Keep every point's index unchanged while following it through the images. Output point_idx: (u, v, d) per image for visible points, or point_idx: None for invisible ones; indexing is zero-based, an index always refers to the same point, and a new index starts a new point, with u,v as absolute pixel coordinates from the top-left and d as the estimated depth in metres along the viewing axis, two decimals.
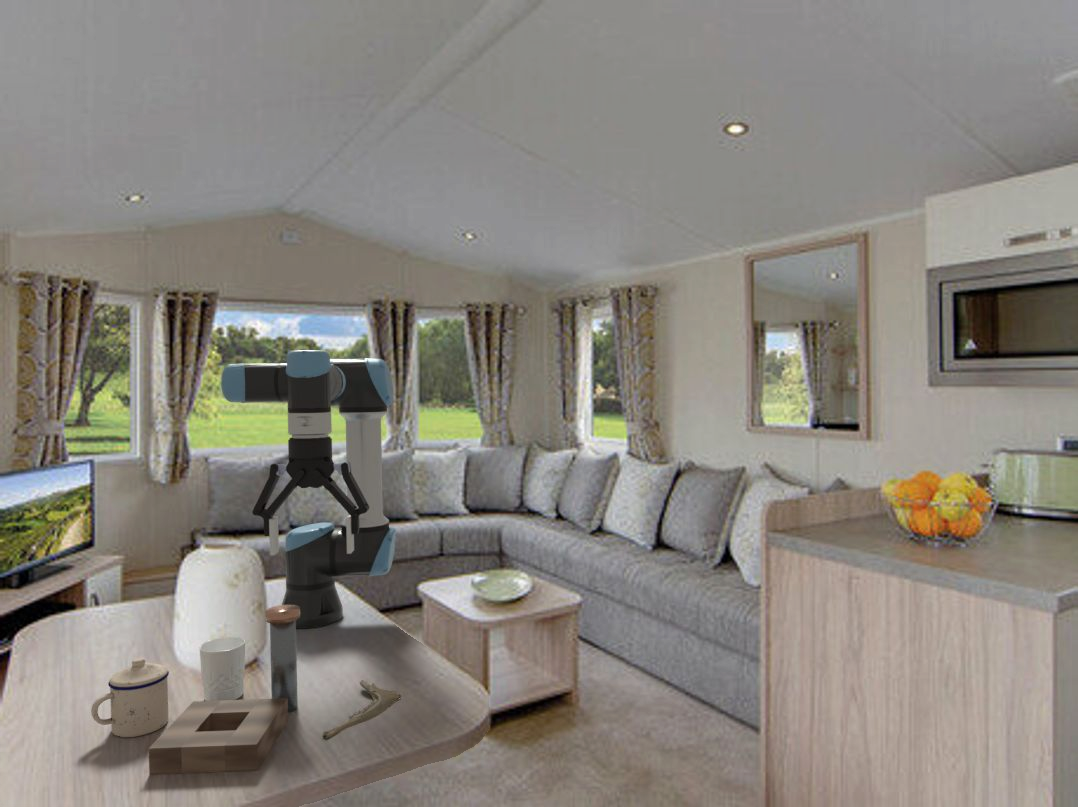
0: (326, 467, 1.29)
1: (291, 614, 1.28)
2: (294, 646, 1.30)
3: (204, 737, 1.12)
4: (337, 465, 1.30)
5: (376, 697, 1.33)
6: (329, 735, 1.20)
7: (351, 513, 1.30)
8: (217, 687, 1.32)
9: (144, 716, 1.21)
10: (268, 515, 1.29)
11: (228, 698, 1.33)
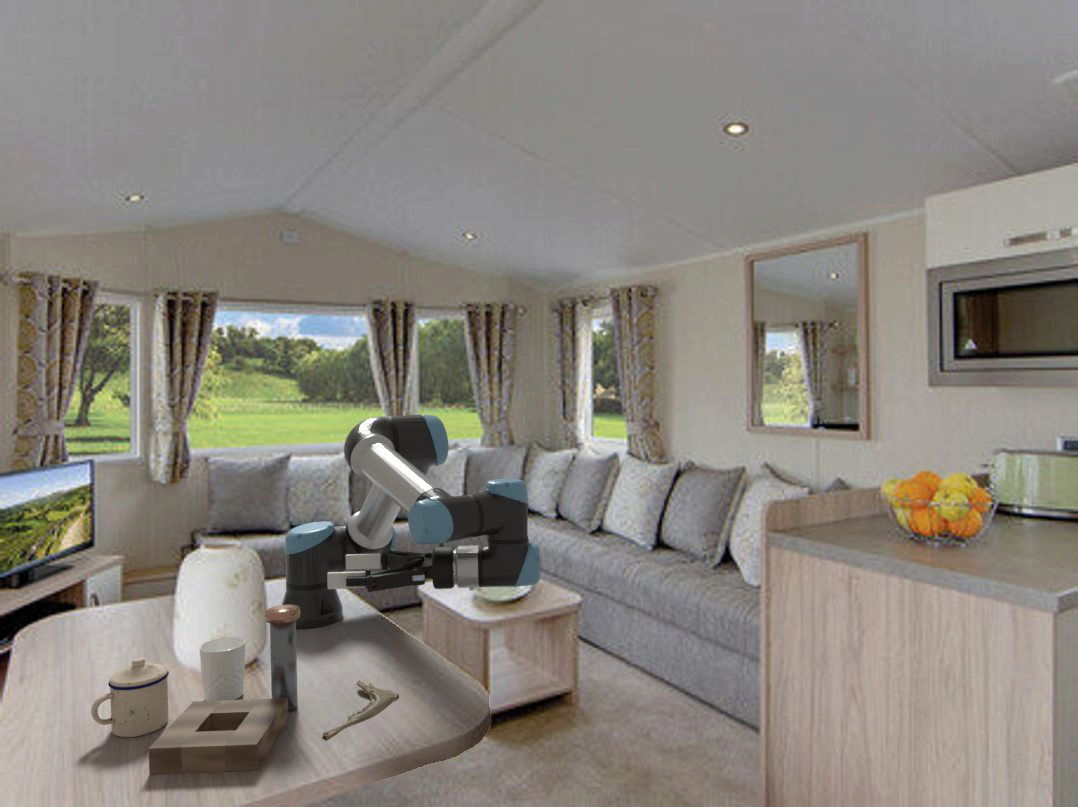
0: None
1: (291, 614, 1.28)
2: (294, 646, 1.30)
3: (204, 737, 1.12)
4: None
5: (374, 697, 1.34)
6: (329, 735, 1.20)
7: (385, 566, 1.38)
8: (217, 687, 1.32)
9: (144, 716, 1.21)
10: None
11: (228, 698, 1.33)
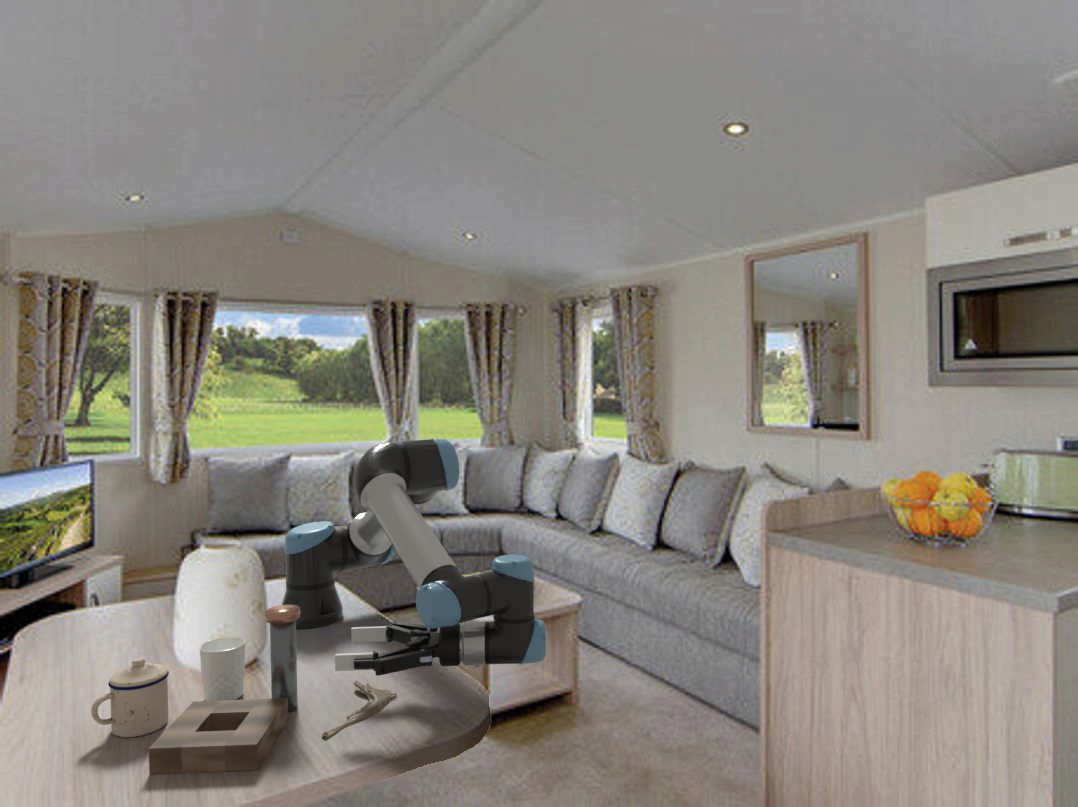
0: None
1: (291, 614, 1.28)
2: (294, 646, 1.30)
3: (204, 737, 1.12)
4: None
5: (372, 697, 1.34)
6: (329, 735, 1.20)
7: None
8: (217, 687, 1.32)
9: (144, 716, 1.21)
10: None
11: (228, 698, 1.33)
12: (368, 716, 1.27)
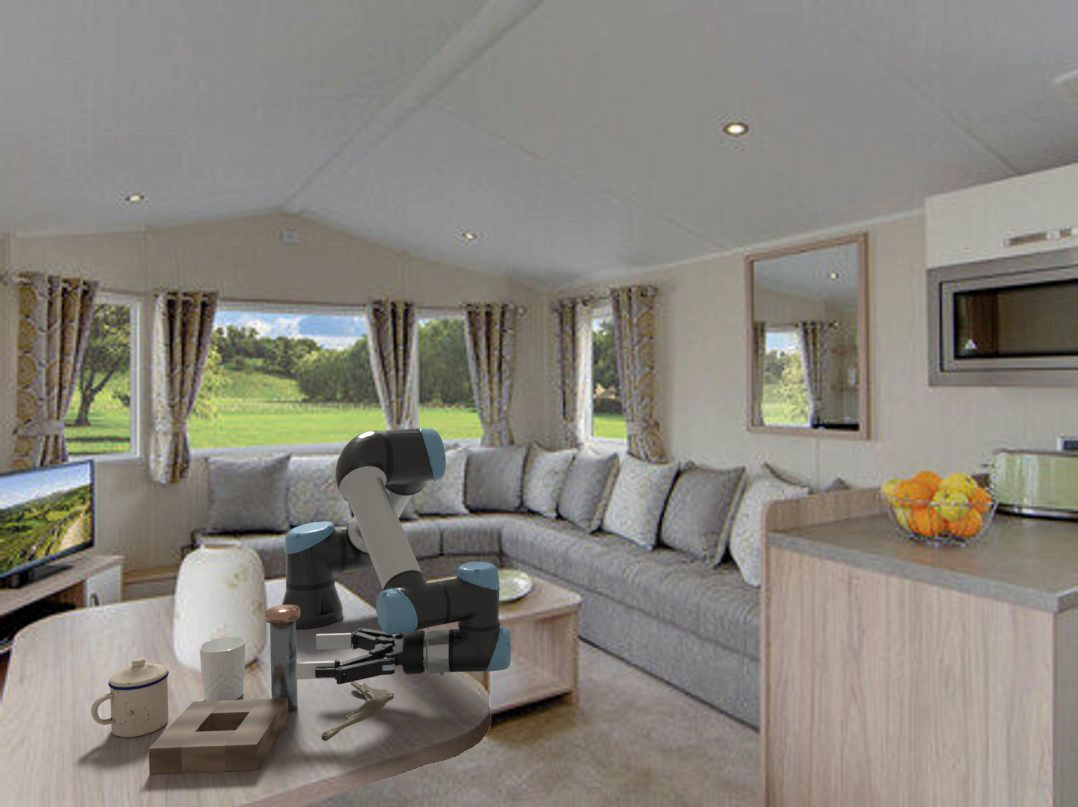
0: None
1: (291, 614, 1.28)
2: (294, 646, 1.30)
3: (204, 737, 1.12)
4: None
5: (369, 696, 1.34)
6: (328, 735, 1.20)
7: None
8: (217, 687, 1.32)
9: (144, 716, 1.21)
10: None
11: (228, 698, 1.33)
12: (367, 716, 1.27)
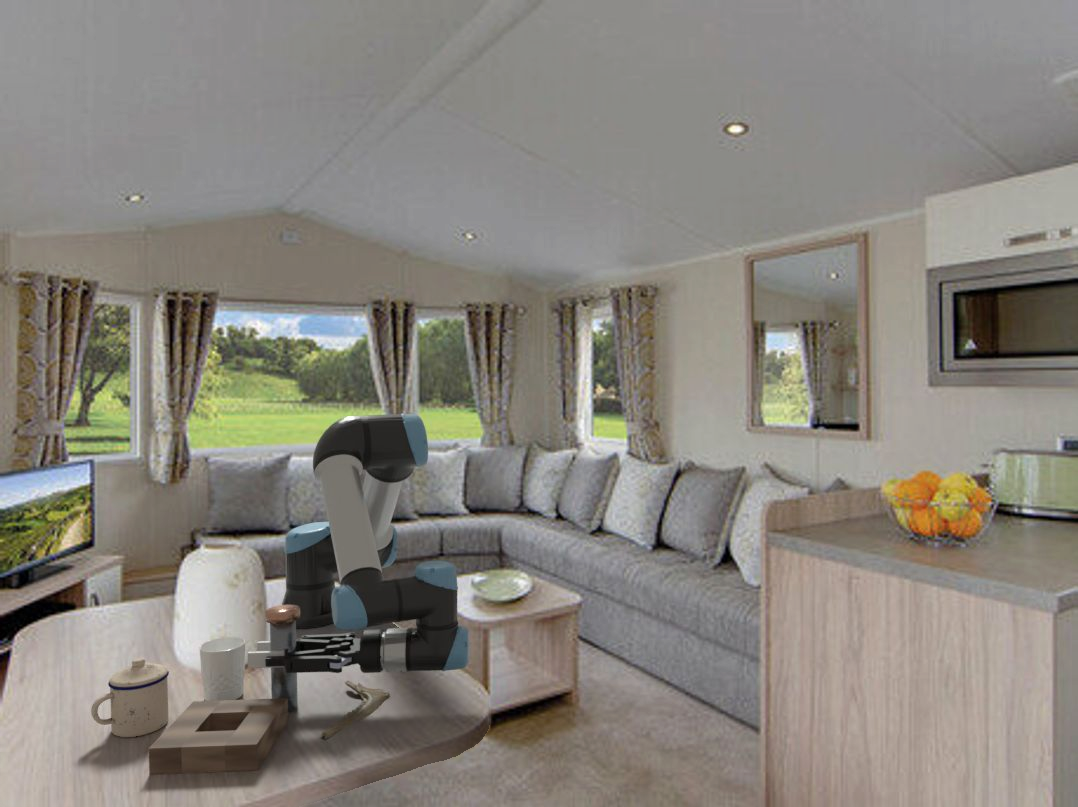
0: None
1: (291, 614, 1.28)
2: (294, 646, 1.30)
3: (204, 737, 1.12)
4: None
5: (365, 696, 1.34)
6: (328, 735, 1.20)
7: None
8: (217, 687, 1.32)
9: (144, 716, 1.21)
10: None
11: (228, 698, 1.33)
12: (364, 715, 1.27)
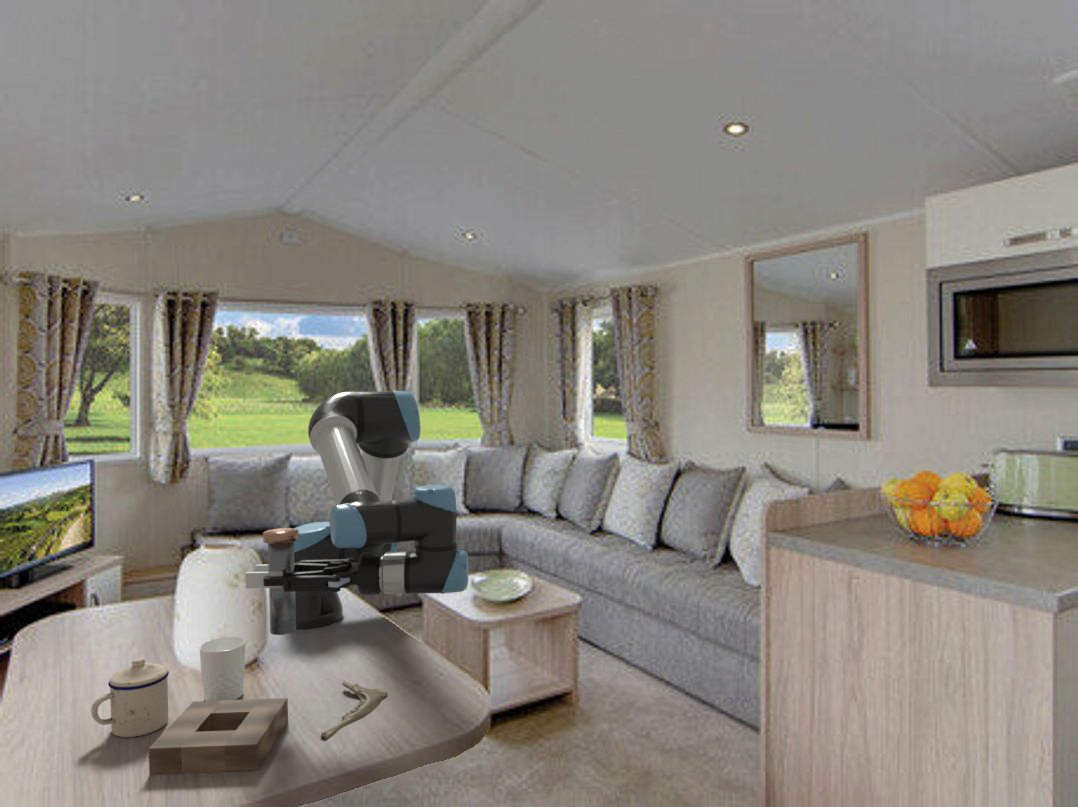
0: None
1: (289, 535, 1.28)
2: (292, 568, 1.29)
3: (204, 737, 1.12)
4: None
5: (363, 696, 1.34)
6: (327, 735, 1.20)
7: None
8: (217, 687, 1.32)
9: (144, 716, 1.21)
10: None
11: (228, 698, 1.33)
12: (363, 715, 1.27)
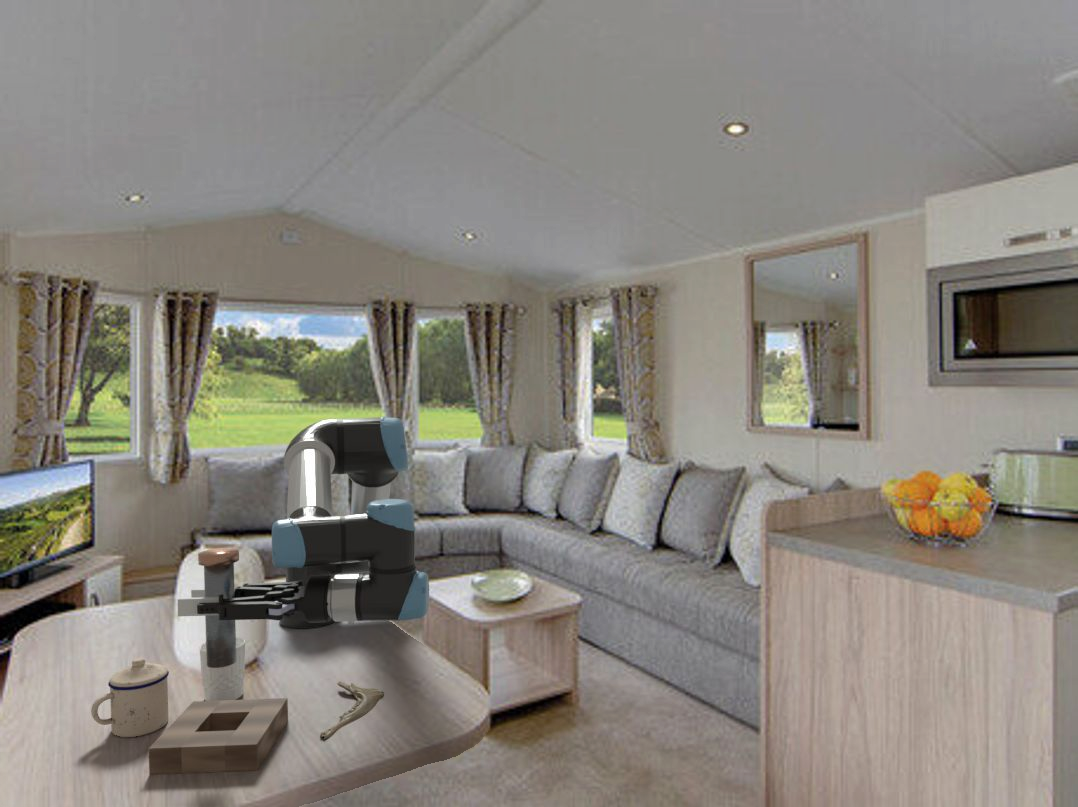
0: None
1: (227, 556, 1.14)
2: (231, 593, 1.16)
3: (204, 737, 1.12)
4: None
5: (359, 696, 1.34)
6: (327, 735, 1.20)
7: None
8: (217, 687, 1.32)
9: (144, 716, 1.21)
10: None
11: (228, 698, 1.33)
12: (361, 714, 1.27)
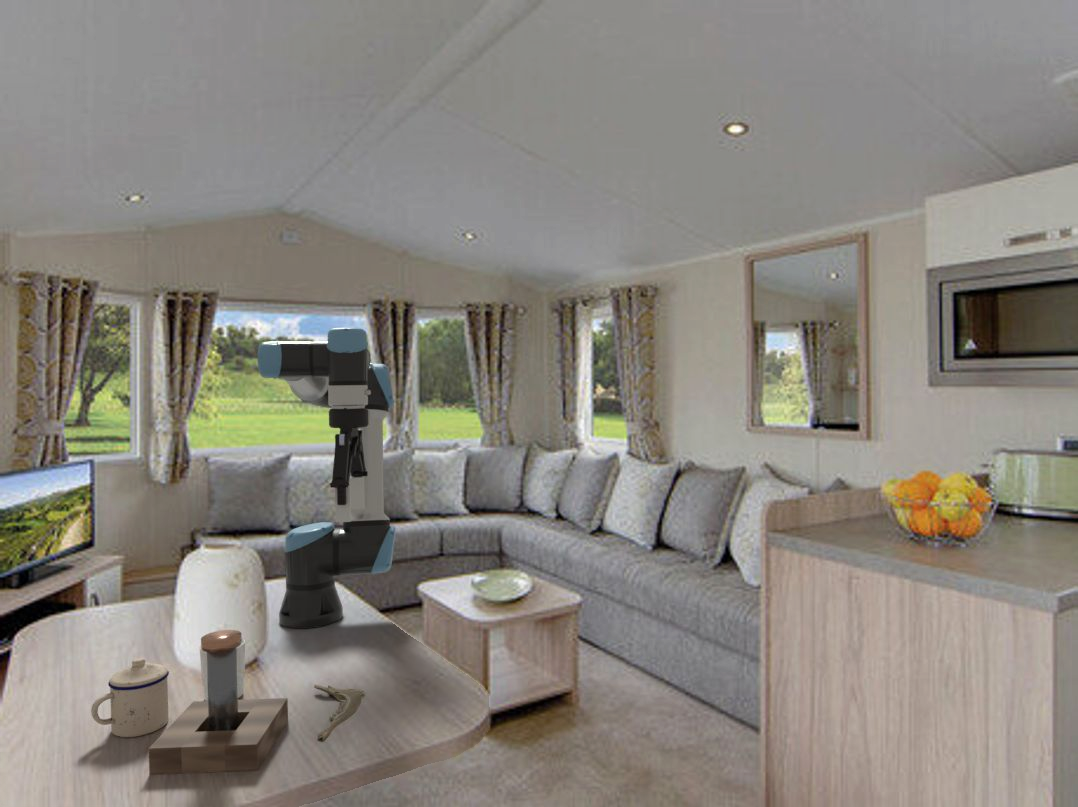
0: (357, 434, 1.45)
1: (230, 641, 1.15)
2: (234, 677, 1.17)
3: (204, 737, 1.12)
4: None
5: (341, 697, 1.34)
6: (325, 736, 1.19)
7: (363, 473, 1.49)
8: None
9: (144, 716, 1.21)
10: (348, 483, 1.35)
11: None
12: (350, 714, 1.28)
